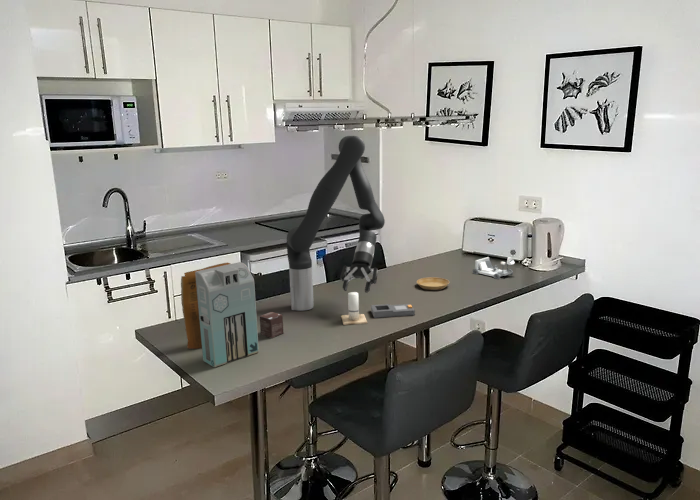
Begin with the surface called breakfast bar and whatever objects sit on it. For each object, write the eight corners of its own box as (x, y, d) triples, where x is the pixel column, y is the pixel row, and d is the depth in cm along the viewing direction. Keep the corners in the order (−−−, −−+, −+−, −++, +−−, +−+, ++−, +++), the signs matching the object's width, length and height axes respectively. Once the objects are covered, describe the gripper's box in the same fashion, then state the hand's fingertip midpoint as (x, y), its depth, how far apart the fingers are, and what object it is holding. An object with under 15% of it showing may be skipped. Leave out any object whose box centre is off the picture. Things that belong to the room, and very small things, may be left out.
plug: (349, 320, 212) (348, 295, 210) (348, 317, 216) (347, 292, 214) (360, 319, 213) (359, 294, 211) (358, 316, 217) (357, 291, 214)
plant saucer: (439, 293, 245) (439, 288, 244) (410, 288, 254) (410, 283, 253) (455, 285, 256) (455, 280, 256) (426, 280, 265) (426, 275, 265)
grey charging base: (374, 317, 216) (374, 311, 216) (370, 311, 224) (370, 304, 224) (414, 315, 218) (414, 308, 218) (410, 308, 226) (410, 302, 225)
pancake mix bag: (240, 339, 198) (234, 262, 192) (188, 353, 187) (180, 273, 181) (232, 334, 203) (226, 259, 197) (181, 347, 192) (173, 269, 186)
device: (215, 368, 175) (207, 276, 169) (203, 361, 181) (194, 271, 174) (259, 353, 186) (253, 265, 179) (246, 346, 192) (240, 261, 185)
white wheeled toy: (518, 256, 267) (504, 261, 259) (517, 276, 269) (503, 281, 261) (487, 250, 280) (472, 254, 273) (486, 269, 282) (472, 274, 275)
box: (272, 330, 207) (271, 311, 205) (284, 333, 203) (283, 314, 201) (260, 335, 202) (259, 315, 200) (271, 338, 198) (270, 319, 197)
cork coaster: (343, 324, 210) (343, 323, 210) (341, 316, 218) (341, 315, 218) (367, 323, 211) (367, 321, 211) (363, 315, 219) (363, 313, 219)
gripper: (344, 249, 222) (335, 285, 214) (379, 251, 218) (371, 287, 210) (349, 259, 228) (340, 294, 220) (382, 261, 224) (375, 297, 216)
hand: (355, 291), depth 215 cm, fingers open, 8 cm apart
